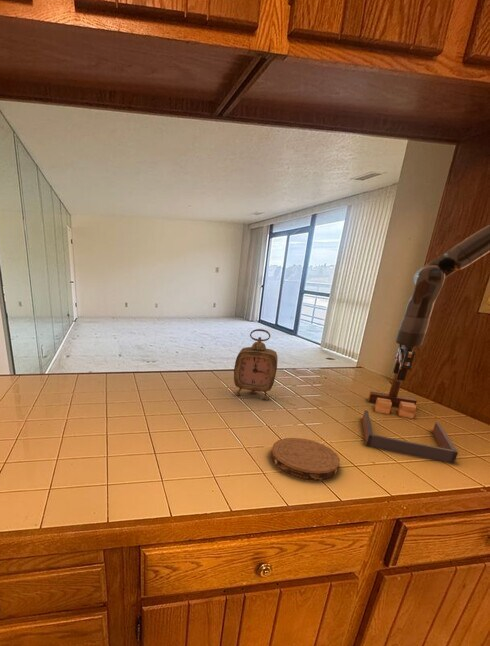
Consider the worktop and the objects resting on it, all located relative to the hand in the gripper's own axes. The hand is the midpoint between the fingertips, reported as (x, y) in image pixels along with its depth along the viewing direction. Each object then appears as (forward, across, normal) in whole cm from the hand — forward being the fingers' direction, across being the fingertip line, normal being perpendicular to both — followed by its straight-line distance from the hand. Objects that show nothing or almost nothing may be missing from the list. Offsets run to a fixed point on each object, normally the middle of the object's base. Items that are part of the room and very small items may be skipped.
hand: (398, 376), depth 120 cm
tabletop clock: (+11, -14, +46) cm, 50 cm away
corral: (+11, -28, 0) cm, 30 cm away
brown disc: (+11, -55, +25) cm, 62 cm away
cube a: (+11, -8, +3) cm, 14 cm away
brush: (+11, 0, 0) cm, 11 cm away
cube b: (+11, -8, -4) cm, 14 cm away
